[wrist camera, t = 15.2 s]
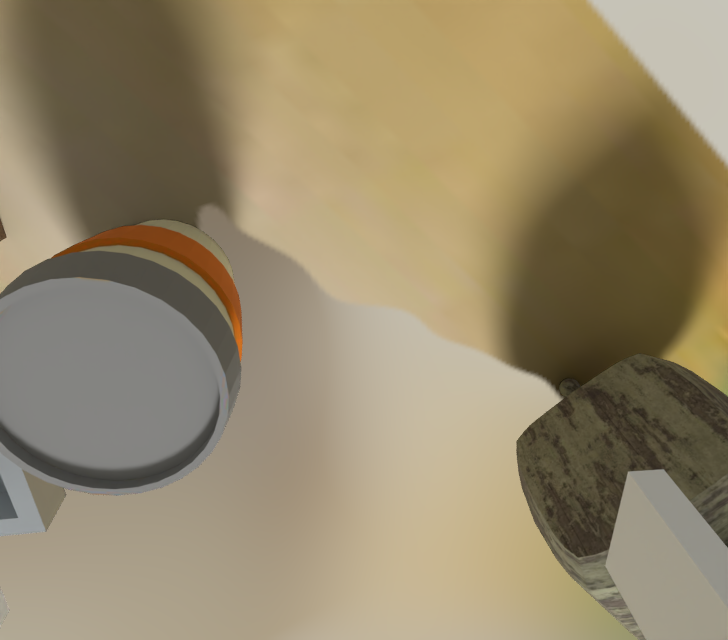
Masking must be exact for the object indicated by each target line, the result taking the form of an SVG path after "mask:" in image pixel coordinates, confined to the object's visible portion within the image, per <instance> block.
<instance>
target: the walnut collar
mask: <svg viewBox="0 0 728 640" xmlns="http://www.w3.org/2000/svg"><path fill="white" fill-rule="evenodd" d="M5 238H6V235H5V232H4V229H3V226H2V223H1V220H0V241H1V240H3V239H5Z"/></svg>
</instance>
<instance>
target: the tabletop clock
mask: <svg viewBox="0 0 728 640" xmlns="http://www.w3.org/2000/svg"><path fill="white" fill-rule="evenodd" d="M559 390H560V392H561V394H562V395H563V396H564V397H565V398H564V399H563V400H562V401H560V402H559V403H558V404H556V405H555V406H554V407H553V408H551V409H550V410H549V411H547V412H546V413H545V414H544V415H542V416H541V417H540V418H538V419H537V420H536V421H535V422H534V423H532V424H531V425H530V426H529V427H528V428H527V429H526V430H525V431H524V432H523V434H522V435H521V436H520V437H519V439H518V440H517V462H518V471H519V476H520V481H521V485H522V489H523V492H524V495H525V497H526V500H527V503H528V506H529V508H530V511H531V514H532V516H533V519H534V522H535V524H536V525H537V527H538V529H539V530H540V532H541V534H542V535H543V537H544V538H545V541H546V542H547V544H548V546H549V547H550V549H551V551H552V553H553V554H554V556H555V557H556V559H557V560H558V561H559V563H560V564H561V565H562V567H563V568H564V569H565V570H566V572H567V573H568V574H569V575H570V576H571V577H572V578H573V579H574V580H575V581H576V582H577V583H578V584H579V585H580V586H581V587H582V588H583V589H584V590H585V591H586V592H588V593H589V594H590V595H591V596H592V597H593V598H594V599H595V600H596V601H597V602H598V603H599V604H600V605H601V606H602V607H604V608H605V609H606V610H607V611H608V612H609V613H610V614H611V615H612V616H613V617H614V618H615V619H616V620H617V621H619V622H620V623H621V624H622V625H623V626H624V627H625V628H626V629H627V630H628V631H629V632H630V633H632V634H633V635H634V636H635V637H637V638H638V639H639V640H646V639H645V637H644V635H643V633H642V632H641V630H640V628H639V626H638V624H637V623H636V621H635V619H634V617H633V615H632V614H631V612H630V610H629V608H628V606H627V605H626V603H625V601H624V599H623V597H622V596H621V594H620V592H619V590H618V588H617V586H616V585H615V583H614V581H613V579H612V577H611V576H610V574H609V572H608V570H607V568H606V567H605V565H606V560H607V556H608V552H609V548H610V544H611V540H612V536H613V532H614V528H615V523H616V519H617V515H618V511H619V507H620V503H621V499H622V495H623V491H624V486H625V482H626V478H627V474H628V472H629V471H645V470H660V469H664V470H665V472H666V473H667V474H668V475H669V477H670V478H671V479H672V480H673V481H674V483H675V484H676V485H677V486H678V488H679V489H680V490H681V491H682V492H683V494H684V495H685V496H686V497H687V499H688V500H689V501H690V502H691V503H692V505H693V506H694V507H695V508H696V510H697V511H698V512H699V513H700V514H701V516H702V517H703V518H704V519H705V521H706V522H707V523H708V524H709V526H710V527H711V528H712V529H713V530H714V532H715V533H716V534H717V535H718V537H719V538H720V539H721V540H722V541H723V543H724V544H725V545H726V546H727V548H728V397H727V396H726V395H725V394H724V393H723V392H721V391H720V390H718V389H717V388H715V387H714V386H712V385H711V384H709V383H708V382H707V381H705V380H704V379H702V378H701V377H699V376H698V375H696V374H695V373H694V372H692V371H690V370H688V369H686V368H684V367H682V366H680V365H678V364H676V363H674V362H671V361H667V360H663V359H660V358H656V357H652V356H648V355H645V354H641V353H639V354H636V355H634V356H631V357H628V358H626V359H624V360H622V361H620V362H618V363H616V364H614V365H613V366H611V367H610V368H608V369H607V370H605V371H603V372H602V373H600V374H599V375H597V376H596V377H594V378H593V379H591V380H590V381H588V382H587V383H585V384H584V385H582V386H581V387H580V385H579V383H578V382H577V381H576V380H575V379H564V380H563V381H562V382H561V384H560V386H559Z"/></svg>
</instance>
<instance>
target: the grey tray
mask: <svg viewBox="0 0 728 640" xmlns="http://www.w3.org/2000/svg"><path fill="white" fill-rule="evenodd" d="M65 497H66V493H65V490H64V488H63V487H60V486H57V485H54V484H51V483H48V482H45V481H43V480H41V479H40V478H38V477H36V476H34V475H32V474H30V473H28V472H26V471H24V470H23V469H21V468H20V467H18V466H17V465H16V464H14V463H13V462H12V461H10V460H9V459H8V458H6V457H5V456H3V455H2V454H1V453H0V536H6V535H17V534H27V533H37V532H46V531H47V529H48V527H49V526H50V524H51V522H52V520H53V518H54V516H55V514H56V513H57V511H58V509H59V507H60V506H61V504H62V502H63V500H64V498H65Z"/></svg>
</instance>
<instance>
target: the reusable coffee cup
mask: <svg viewBox="0 0 728 640" xmlns="http://www.w3.org/2000/svg"><path fill="white" fill-rule="evenodd" d="M241 318H242V317H241V306H240V300H239V295H238V292H237V290H236V287H235V284H234V277H233V271H232V268H231V265H230V263H229V260H228V258H227V257H226V255H225V253H224V252H223V250H222V249H221V247H219V245H218V244H217V243H216V242H215V241H214V240H213V239H212V238H211V237H209V236H208V235H207V234H205V233H204V232H203V231H201V230H199V229H197V228H195V227H193V226H191V225H189V224H186V223H182V222H179V221H173V220H165V219H162V220H150V221H146V222H143V223H139V224H137V225H134V226H122V227H119V228H115V229H111V230H108V231H105V232H102V233H100V234H98V235H96V236H93V237H91V238H89V239H87V240H84V241H82V242H80V243H77V244H75V245H73V246H71V247H69V248H67V249H65V250H63V251H62V252H60V253H58V254H56V255H54V256H53V257H52V258H51V259H47V260H45V261H43V262H41V263H39V264H37V265H35V266H34V267H32V268H30V269H28V270H26V271H24V272H23V273H22V274H21V275H20V276H19V277H17V278H16V279H15V280H14V281H13V282H12V283H10V284H9V285H8V286H7V287H6V288H5V289H4V291H3V292H2V293H1V294H0V453H1V454H2V455H3V456H5V457H6V458H8V459H9V460H10V461H12V462H13V463H14V464H16V465H17V466H18V467H20V468H21V469H23V470H24V471H26V472H28V473H30V474H32V475H34V476H36V477H38V478H40V479H41V480H43V481H45V482H48V483H51V484H54V485H57V486H60V487H63V488H65V489H68V490H73V491H79V492H84V493H88V494H96V495H116V496H117V495H126V494H127V495H128V494H138V493H143V492H147V491H150V490H154V489H158V488H162V487H164V486H166V485H168V484H171V483H173V482H175V481H177V480H180V479H181V478H183V477H184V476H186V475H187V474H189V473H190V472H192V471H193V470H194V469H196V468H197V467H198V466H199V465H200V464H201V463H202V462H203V461H204V460H205V459H206V458H207V457H208V456H209V455H210V454H211V453H212V451H213V449H214V448H215V446H216V444H217V443H218V441H219V439H220V438H221V436H222V434H223V431H224V429H225V427H226V424H227V422H228V420H229V417H230V415H231V413H232V410H233V408H234V406H235V402H236V399H237V396H238V392H239V389H240V380H241V363H240V362H241V356H242V319H241Z"/></svg>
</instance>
